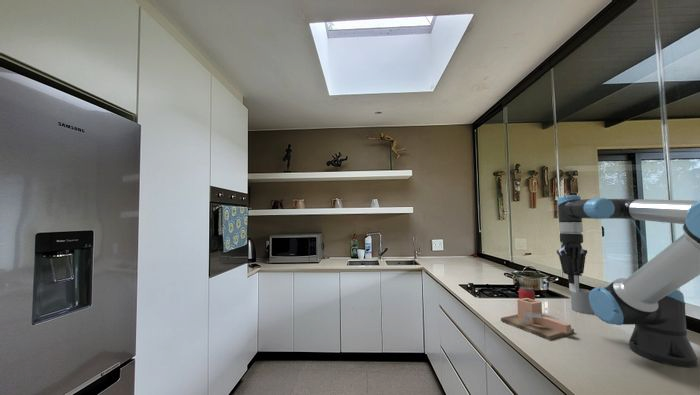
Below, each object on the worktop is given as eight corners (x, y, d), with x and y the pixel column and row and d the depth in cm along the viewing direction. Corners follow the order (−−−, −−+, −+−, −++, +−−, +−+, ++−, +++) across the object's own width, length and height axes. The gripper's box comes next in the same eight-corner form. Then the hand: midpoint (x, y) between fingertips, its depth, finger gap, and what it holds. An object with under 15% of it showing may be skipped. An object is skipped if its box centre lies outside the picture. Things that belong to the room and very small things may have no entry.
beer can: (530, 311, 134) (529, 286, 135) (538, 316, 128) (537, 289, 129) (516, 310, 135) (515, 285, 136) (523, 315, 128) (522, 289, 129)
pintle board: (574, 333, 109) (573, 313, 110) (549, 340, 103) (548, 319, 103) (524, 316, 128) (524, 299, 128) (500, 321, 121) (500, 303, 122)
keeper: (525, 327, 115) (524, 311, 115) (540, 329, 113) (539, 313, 113) (526, 330, 112) (525, 313, 112) (542, 332, 110) (541, 315, 110)
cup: (568, 309, 137) (567, 289, 137) (577, 307, 140) (576, 287, 141) (588, 315, 129) (587, 293, 130) (597, 312, 132) (596, 291, 133)
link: (518, 318, 121) (517, 299, 122) (527, 315, 124) (526, 297, 124) (564, 334, 104) (563, 312, 105) (573, 331, 107) (572, 310, 108)
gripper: (574, 232, 118) (577, 288, 116) (549, 232, 115) (552, 290, 113) (593, 233, 110) (597, 293, 109) (566, 233, 108) (570, 294, 106)
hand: (574, 291), depth 111 cm, fingers closed
